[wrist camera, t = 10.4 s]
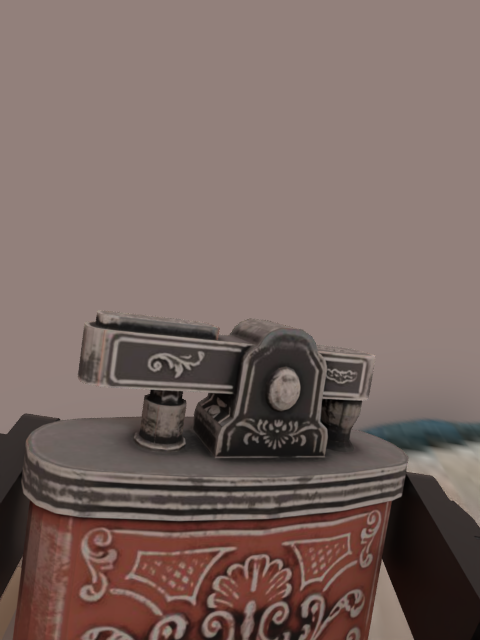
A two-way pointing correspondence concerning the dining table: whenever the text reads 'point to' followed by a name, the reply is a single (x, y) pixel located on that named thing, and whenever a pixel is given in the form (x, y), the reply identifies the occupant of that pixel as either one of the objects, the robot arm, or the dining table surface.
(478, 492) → the dining table surface
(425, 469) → the dining table surface
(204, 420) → the lighter
